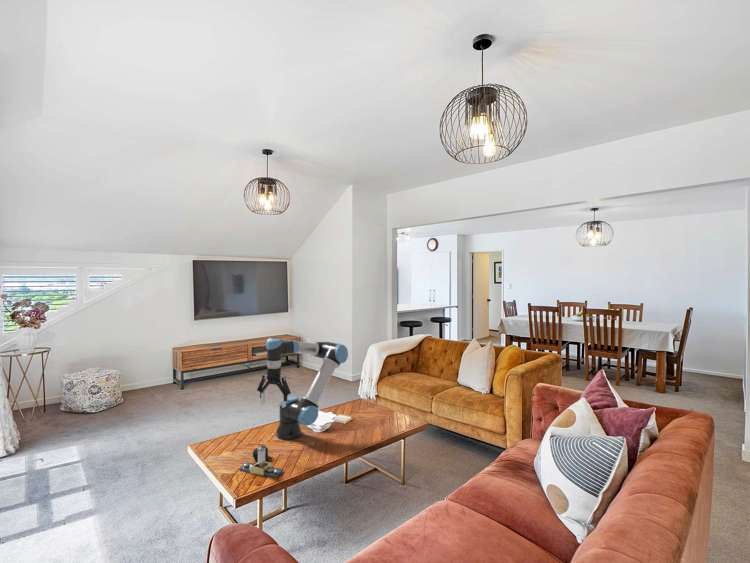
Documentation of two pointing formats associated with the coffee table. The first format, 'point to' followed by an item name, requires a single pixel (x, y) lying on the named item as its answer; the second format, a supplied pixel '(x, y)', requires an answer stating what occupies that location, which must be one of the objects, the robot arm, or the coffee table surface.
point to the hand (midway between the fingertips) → (273, 405)
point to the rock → (255, 454)
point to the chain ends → (262, 469)
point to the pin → (261, 456)
